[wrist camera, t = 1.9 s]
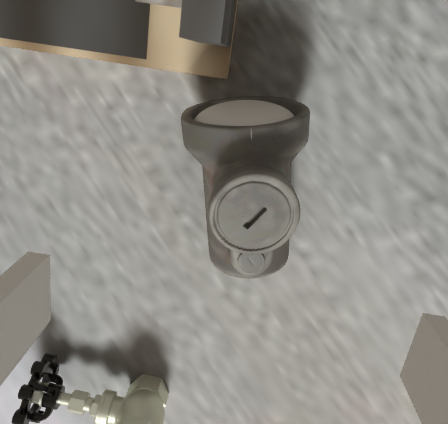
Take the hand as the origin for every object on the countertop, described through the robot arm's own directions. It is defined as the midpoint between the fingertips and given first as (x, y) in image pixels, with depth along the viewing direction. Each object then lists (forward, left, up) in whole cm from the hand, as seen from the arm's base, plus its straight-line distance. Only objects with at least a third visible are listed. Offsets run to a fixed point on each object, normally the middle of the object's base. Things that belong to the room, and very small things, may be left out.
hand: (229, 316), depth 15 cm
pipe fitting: (0, 0, -19) cm, 19 cm away
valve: (+10, +22, -19) cm, 30 cm away
